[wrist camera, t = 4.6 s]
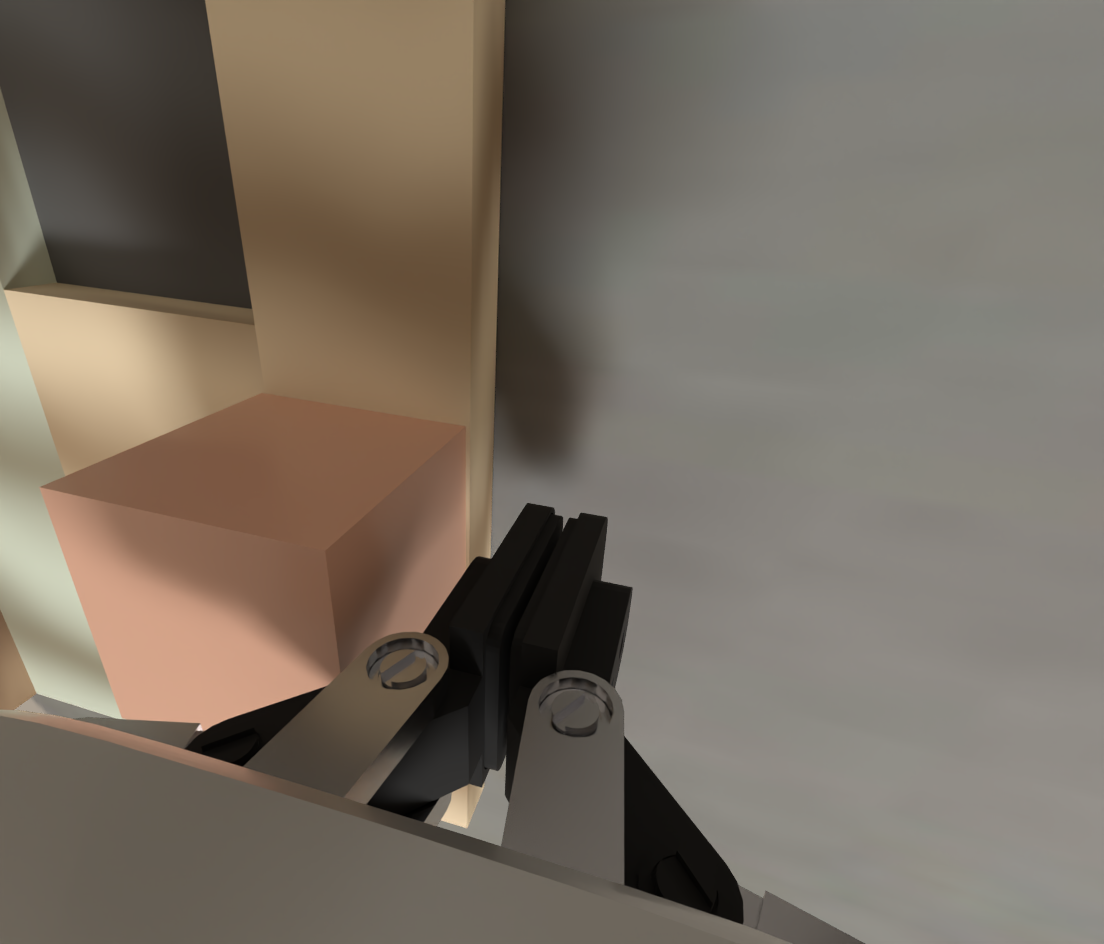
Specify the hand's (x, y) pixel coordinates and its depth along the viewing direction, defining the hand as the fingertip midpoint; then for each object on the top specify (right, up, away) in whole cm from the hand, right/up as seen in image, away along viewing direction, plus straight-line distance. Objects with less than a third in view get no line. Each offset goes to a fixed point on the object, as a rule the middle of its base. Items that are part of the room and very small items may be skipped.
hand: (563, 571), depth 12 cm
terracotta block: (-5, +1, +2) cm, 5 cm away
